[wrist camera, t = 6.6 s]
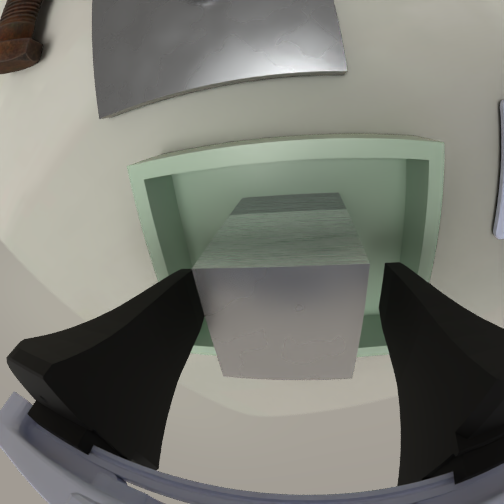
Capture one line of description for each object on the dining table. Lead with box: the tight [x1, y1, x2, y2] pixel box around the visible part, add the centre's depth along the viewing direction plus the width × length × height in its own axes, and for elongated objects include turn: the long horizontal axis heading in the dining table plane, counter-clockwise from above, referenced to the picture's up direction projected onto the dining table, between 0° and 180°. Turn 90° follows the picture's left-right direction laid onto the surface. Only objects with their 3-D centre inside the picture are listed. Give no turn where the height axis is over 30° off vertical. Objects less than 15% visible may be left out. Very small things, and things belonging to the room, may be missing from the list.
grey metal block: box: [192, 192, 370, 380], centre depth 10 cm, size 4×4×6 cm
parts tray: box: [127, 134, 444, 357], centre depth 12 cm, size 12×10×3 cm
